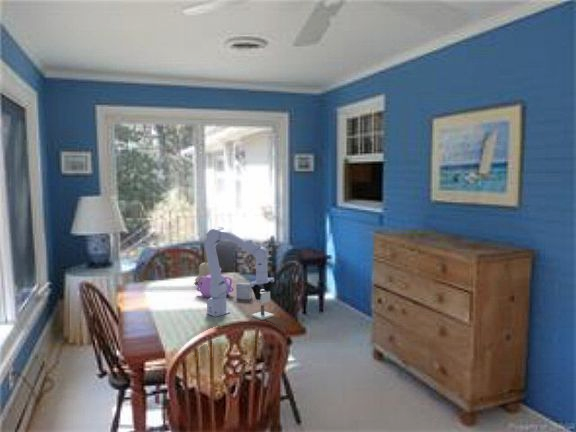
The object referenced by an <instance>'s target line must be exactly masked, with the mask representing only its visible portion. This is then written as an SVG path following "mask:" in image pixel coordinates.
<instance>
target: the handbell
mask: <svg viewBox="0 0 576 432" xmlns="http://www.w3.org/2000/svg"><path fill="white" fill-rule="evenodd" d="M203 258H204V262H202V263H201V264H199V267H198V271H199V273H198V275H197V277H195V279H194V281H195V282H196V283H198V278H199V277H201V276H204V277H206V276H207V275H210V270H209V265H208V261H207V256H206V251H205V247H204V246H203ZM203 280H204V278H201V279H200V283H201V284H202V282H203Z"/></svg>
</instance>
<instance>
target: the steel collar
mask: <svg viewBox="0 0 576 432" xmlns="http://www.w3.org/2000/svg"><path fill="white" fill-rule="evenodd" d="M253 297H254V302H256V303H260V304H265V303H269V302H271V290H270V291H268V290H264V289H263V288H261V290H260V299H259V300H256V298H255V294H254V293H253Z"/></svg>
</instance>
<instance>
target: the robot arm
mask: <svg viewBox="0 0 576 432" xmlns="http://www.w3.org/2000/svg"><path fill="white" fill-rule="evenodd" d="M205 236H206V238H205V241H204V243H203V244H204V245H203V248H204V247H205V251H206V256H207V262H208V265H209V270H210V275H211V282H210V294H211V296H212V297H211V298H209V297H208V299H207V301H206V306H207V307H206V311H207V312H206V314H207V315H208V316H212V317H214V318H217V317H219V316H223V315H228V314H230V313H231V311H229V310H227V295H226V291H227V289H228V286H227V284H226V283H225V280H224V278H223V277H222V275H223V274H222V270H221V271H220V268H221V266H220V261H219V257H218V254H217V253H218V252H217V249H216V246H217V245H218V244H219V243H220V242H221V241H227V240H228V241H230V242H231V243H233V244H235V245H238V246H240V247H241V249H242V250H243V251H244V252H246V253H247V254H250V255H251V256H253V257H254V258H255V280H253V281H251V282H249V283H250V287H251V288H252V293H253V295H254V294H255V298H256V300H259V299H260V290H262V287H261V286H260V285H262V286H263V288H264V290H268V291H270V292H271V290H272V288H273V286H274V282H275V278H274V277H268V256H269V254H270V252H269V249H268V248H267V247H266V246H263V245H261V244H257V243H255V242H253V239H243V238H241V237H239V236H238V235H236V234H235V233H233V232H232V231H229V230H228V229H226V228H224V227H223V226H217V227H216V228H211V229H209V230H208V232H207V233H206V234H205Z"/></svg>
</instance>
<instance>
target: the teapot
mask: <svg viewBox="0 0 576 432" xmlns="http://www.w3.org/2000/svg"><path fill="white" fill-rule="evenodd" d="M220 271H221V272H222V268H221V267H220ZM221 275H222V277H223V278H224V280H225V283H226V284H227V286H228V289H227V291H226V296H227V295H228V294H229V293H231V292H234V287H232V284H233V279H232V277H231V276H224V275H223V274H221ZM201 278H204V280H203V282H202V283H200V279H201ZM227 279H228V280H229V282H228V280H227ZM210 282H211V275H207V276H206V277H204V276H201V277H199V278H198V282H197V283H198V284H197V285H198V286H197V287H196V291H198V292H200V294H201V295H202V296H203V297H205V298H208V299H209V298H211V297H212V296H211V294H210Z"/></svg>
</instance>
